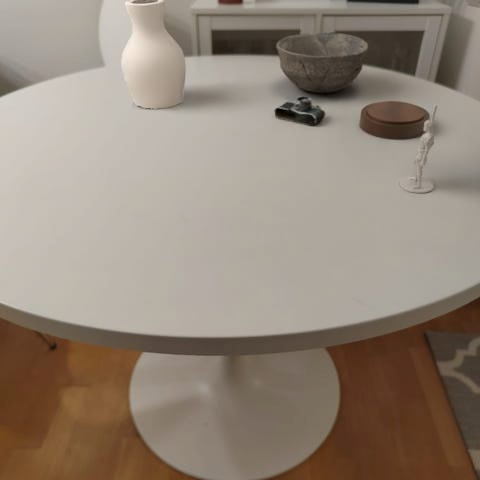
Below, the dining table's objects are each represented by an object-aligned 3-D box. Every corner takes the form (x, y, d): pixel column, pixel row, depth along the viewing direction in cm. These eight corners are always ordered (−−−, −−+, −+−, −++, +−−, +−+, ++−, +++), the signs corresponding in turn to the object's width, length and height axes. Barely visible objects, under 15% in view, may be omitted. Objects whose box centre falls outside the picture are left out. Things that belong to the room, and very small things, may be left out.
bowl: (322, 111, 98) (326, 61, 92) (257, 89, 110) (257, 44, 104) (380, 88, 108) (387, 41, 102) (315, 70, 120) (318, 27, 114)
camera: (285, 109, 100) (286, 89, 97) (327, 119, 95) (329, 98, 92) (272, 116, 97) (273, 96, 94) (315, 127, 92) (317, 106, 89)
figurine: (402, 175, 76) (419, 101, 68) (435, 180, 74) (456, 106, 66) (396, 189, 72) (413, 114, 64) (431, 195, 71) (452, 118, 63)
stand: (414, 112, 96) (417, 98, 94) (436, 137, 86) (440, 122, 85) (353, 115, 96) (354, 100, 94) (368, 140, 86) (370, 125, 84)
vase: (200, 94, 109) (192, -4, 96) (167, 114, 100) (152, 9, 86) (151, 86, 114) (137, -8, 101) (115, 105, 105) (94, 4, 92)
